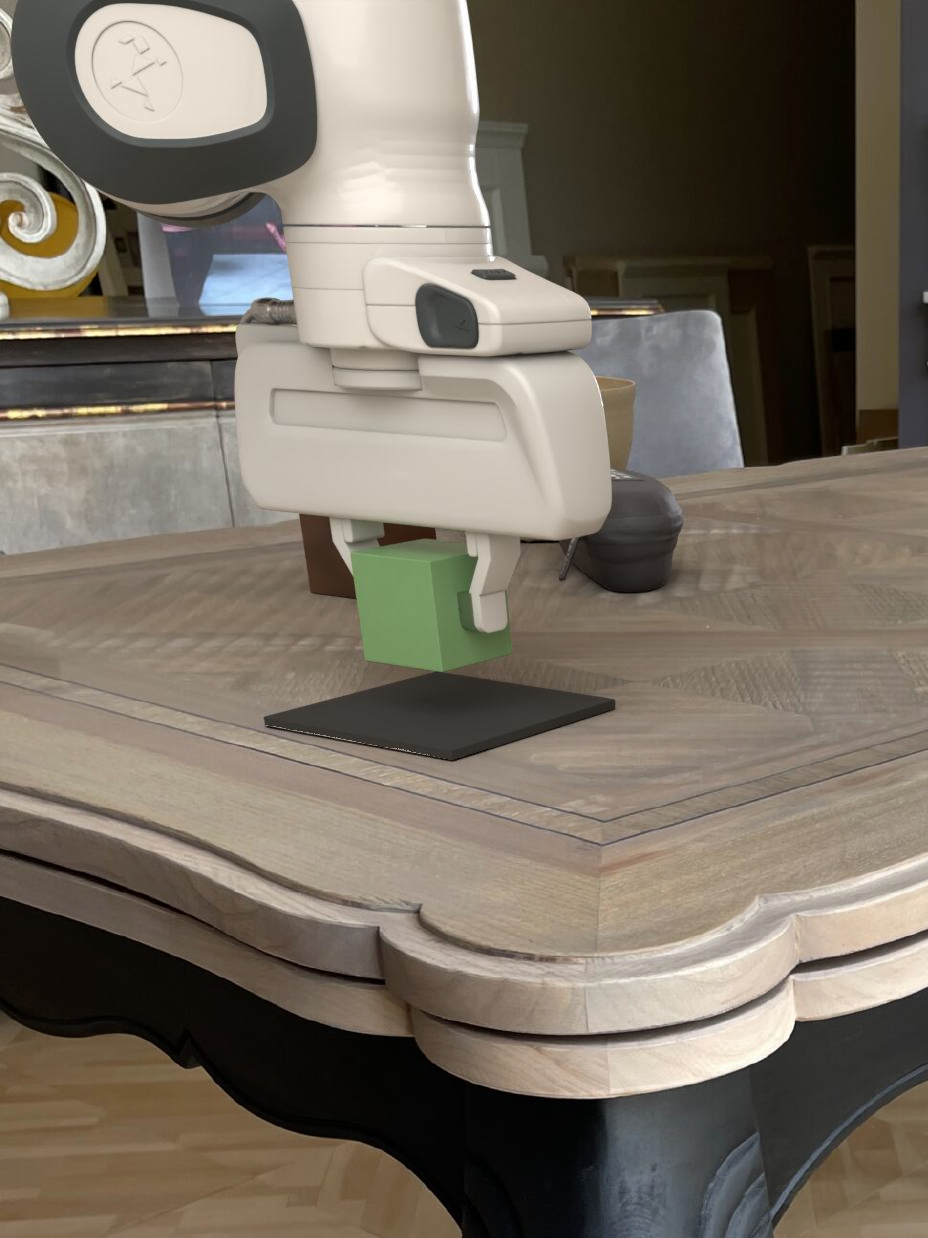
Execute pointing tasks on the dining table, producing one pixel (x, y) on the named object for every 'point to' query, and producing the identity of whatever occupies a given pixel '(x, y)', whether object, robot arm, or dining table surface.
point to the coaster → (442, 714)
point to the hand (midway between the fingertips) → (435, 623)
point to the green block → (420, 606)
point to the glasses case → (630, 536)
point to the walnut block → (327, 562)
